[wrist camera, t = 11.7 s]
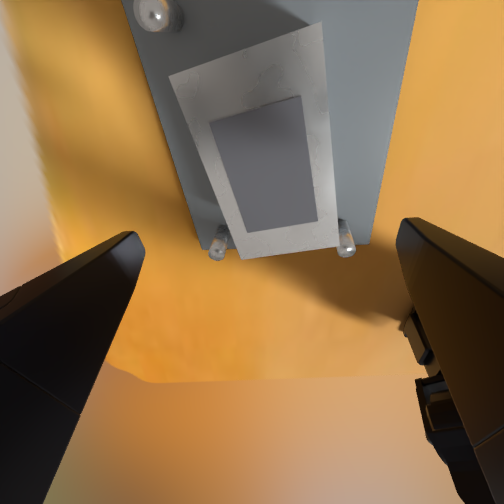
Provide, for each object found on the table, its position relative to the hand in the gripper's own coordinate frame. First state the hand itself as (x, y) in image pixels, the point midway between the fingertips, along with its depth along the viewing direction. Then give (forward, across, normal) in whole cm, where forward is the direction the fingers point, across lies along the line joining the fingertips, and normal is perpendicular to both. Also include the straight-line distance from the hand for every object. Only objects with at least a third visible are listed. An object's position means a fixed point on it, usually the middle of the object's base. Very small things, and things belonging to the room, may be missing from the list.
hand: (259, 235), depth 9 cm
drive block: (+10, 0, 0) cm, 10 cm away
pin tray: (+11, 0, 0) cm, 11 cm away
